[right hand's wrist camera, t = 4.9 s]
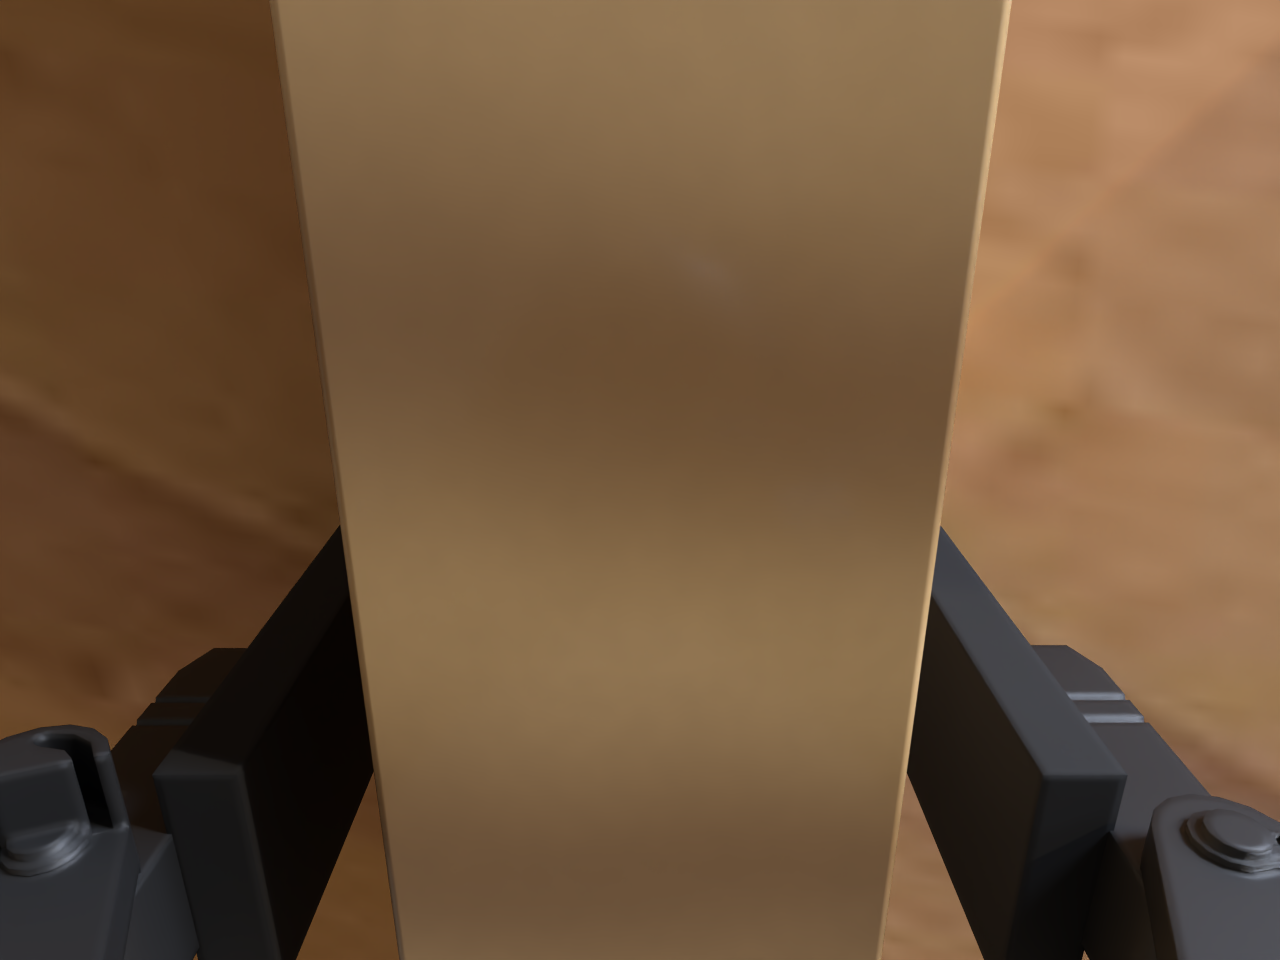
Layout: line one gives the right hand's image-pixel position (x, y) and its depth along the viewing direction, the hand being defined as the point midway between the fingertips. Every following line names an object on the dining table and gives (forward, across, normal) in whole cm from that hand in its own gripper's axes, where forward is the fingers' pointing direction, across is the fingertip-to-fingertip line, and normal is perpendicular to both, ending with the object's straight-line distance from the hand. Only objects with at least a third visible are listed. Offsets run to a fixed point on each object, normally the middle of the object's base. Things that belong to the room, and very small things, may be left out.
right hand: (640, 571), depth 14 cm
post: (+1, 0, -22) cm, 22 cm away
